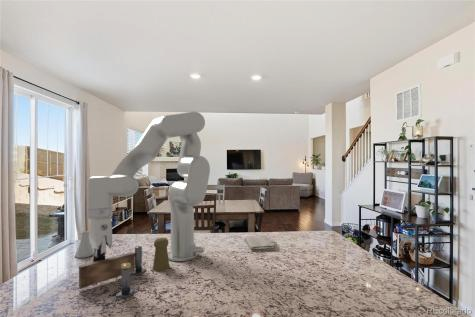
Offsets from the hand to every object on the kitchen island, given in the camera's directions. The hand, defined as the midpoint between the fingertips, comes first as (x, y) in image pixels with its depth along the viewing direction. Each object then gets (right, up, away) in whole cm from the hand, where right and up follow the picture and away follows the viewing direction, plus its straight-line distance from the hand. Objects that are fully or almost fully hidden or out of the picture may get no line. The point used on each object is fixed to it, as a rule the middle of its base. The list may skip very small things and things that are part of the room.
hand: (99, 267), depth 85 cm
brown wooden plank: (+4, -3, -1) cm, 5 cm away
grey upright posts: (+12, -4, -1) cm, 13 cm away
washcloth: (+57, -5, +36) cm, 67 cm away
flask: (-19, -5, +23) cm, 30 cm away
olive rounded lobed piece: (+18, -5, +10) cm, 21 cm away
